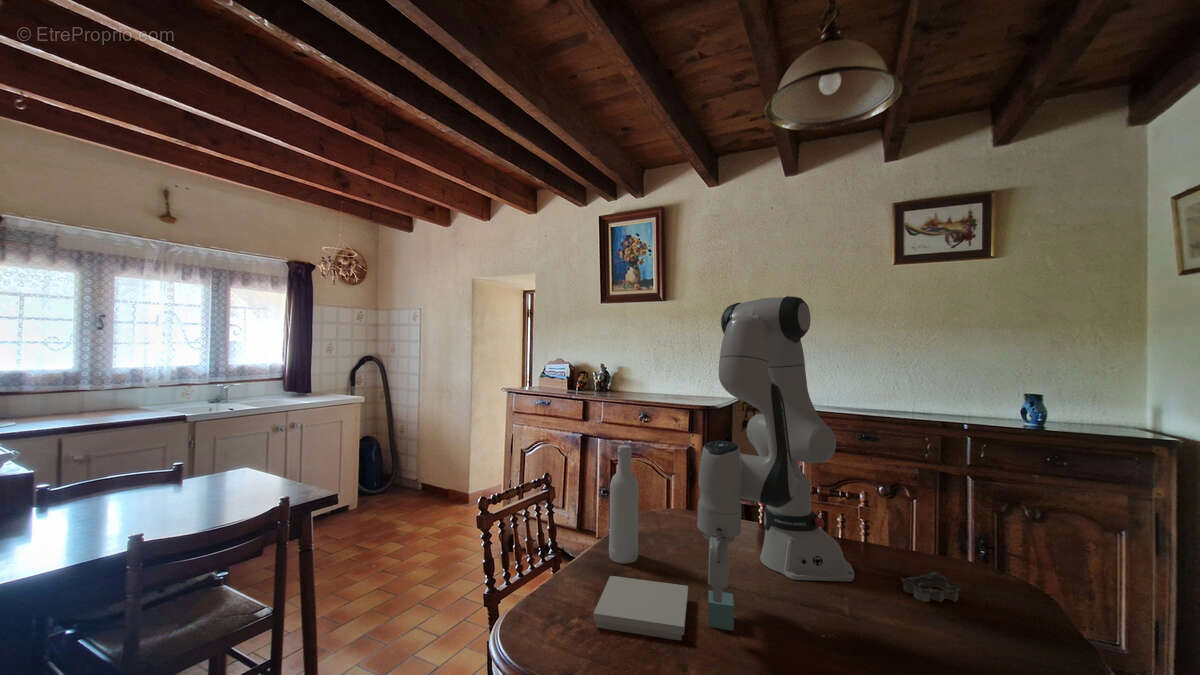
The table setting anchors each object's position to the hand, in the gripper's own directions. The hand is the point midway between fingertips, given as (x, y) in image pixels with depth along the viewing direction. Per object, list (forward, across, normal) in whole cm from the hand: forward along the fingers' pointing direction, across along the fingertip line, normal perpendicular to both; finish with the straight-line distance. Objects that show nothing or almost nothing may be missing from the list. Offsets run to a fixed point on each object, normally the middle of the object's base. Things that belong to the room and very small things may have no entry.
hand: (717, 588), depth 95 cm
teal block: (+7, +1, -1) cm, 7 cm away
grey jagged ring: (+6, +25, -48) cm, 55 cm away
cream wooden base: (+7, -1, +15) cm, 17 cm away
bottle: (+7, +24, +24) cm, 35 cm away
